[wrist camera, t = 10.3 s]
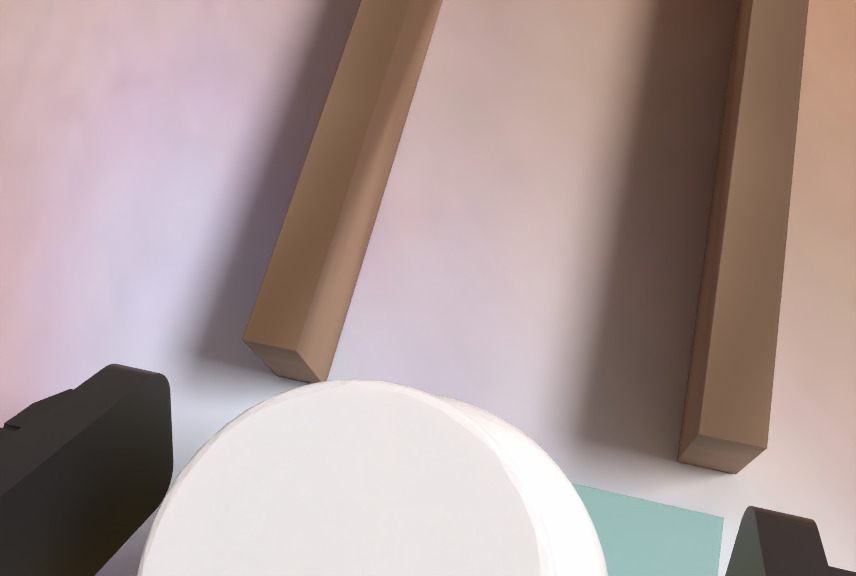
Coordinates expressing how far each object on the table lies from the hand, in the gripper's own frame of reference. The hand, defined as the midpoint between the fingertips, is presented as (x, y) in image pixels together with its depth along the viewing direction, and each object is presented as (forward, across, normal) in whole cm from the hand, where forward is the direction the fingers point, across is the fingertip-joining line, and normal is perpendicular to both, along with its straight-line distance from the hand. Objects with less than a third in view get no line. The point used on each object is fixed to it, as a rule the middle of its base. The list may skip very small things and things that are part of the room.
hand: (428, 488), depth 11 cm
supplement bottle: (+4, 0, +6) cm, 7 cm away
